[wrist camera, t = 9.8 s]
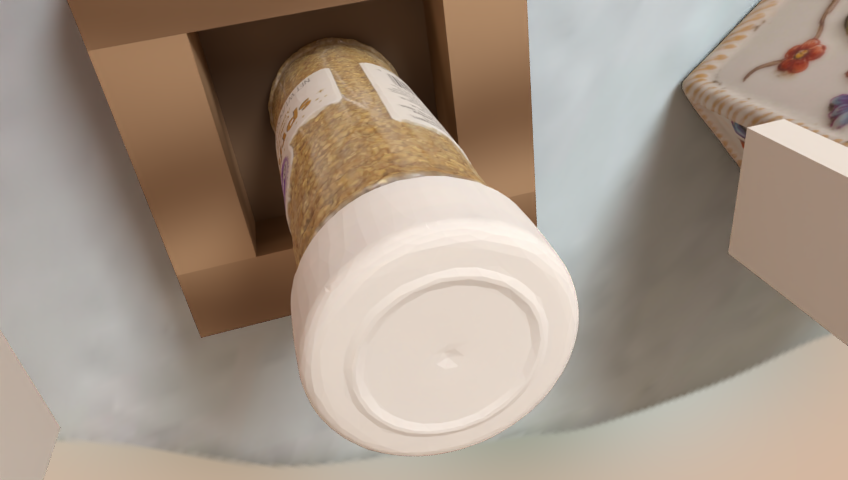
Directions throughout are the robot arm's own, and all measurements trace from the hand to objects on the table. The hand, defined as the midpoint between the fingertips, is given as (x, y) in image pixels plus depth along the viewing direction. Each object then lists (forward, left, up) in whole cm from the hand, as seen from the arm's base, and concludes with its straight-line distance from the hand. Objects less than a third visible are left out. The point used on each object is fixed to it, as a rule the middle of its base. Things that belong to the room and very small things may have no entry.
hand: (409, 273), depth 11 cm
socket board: (0, 0, -12) cm, 12 cm away
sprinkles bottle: (0, 0, -12) cm, 12 cm away
